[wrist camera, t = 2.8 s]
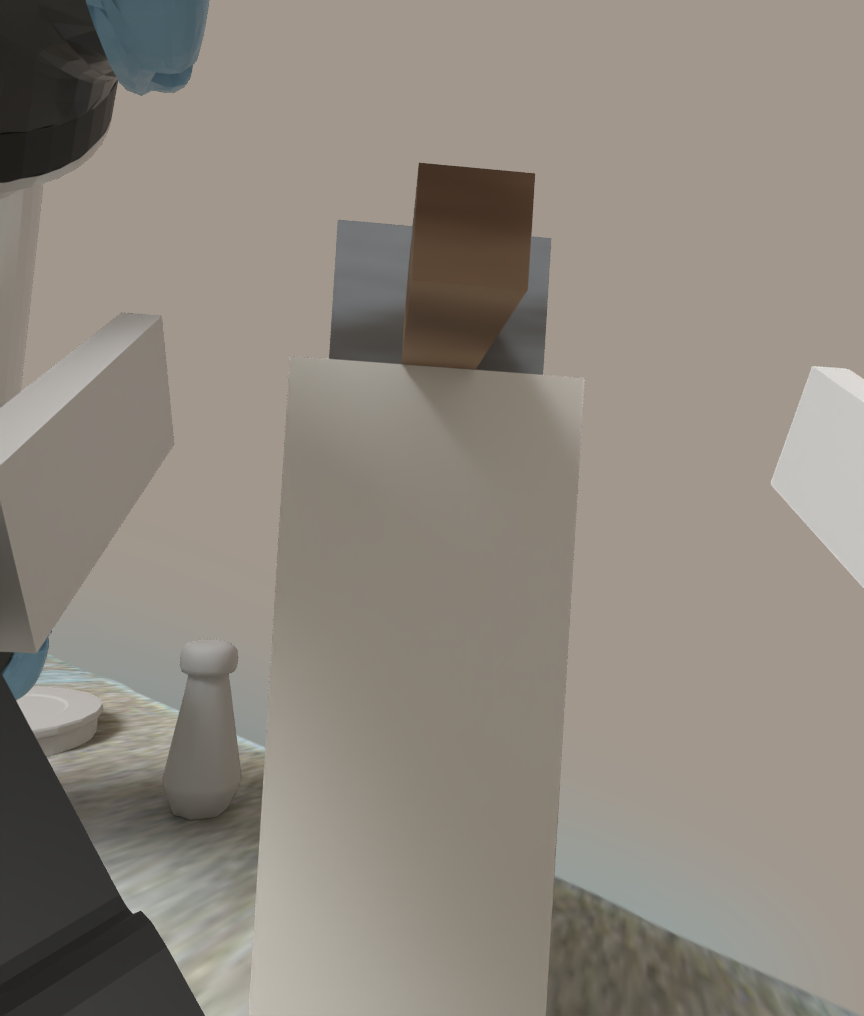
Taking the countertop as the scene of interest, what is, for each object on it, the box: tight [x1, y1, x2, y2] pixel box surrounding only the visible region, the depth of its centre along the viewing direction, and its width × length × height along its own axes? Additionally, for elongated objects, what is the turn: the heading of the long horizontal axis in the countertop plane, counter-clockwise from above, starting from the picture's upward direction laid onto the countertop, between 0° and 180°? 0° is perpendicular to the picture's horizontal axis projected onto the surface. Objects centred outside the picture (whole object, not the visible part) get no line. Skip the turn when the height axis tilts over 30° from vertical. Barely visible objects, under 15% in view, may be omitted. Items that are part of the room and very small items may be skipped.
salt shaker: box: [163, 639, 241, 820], centre depth 57 cm, size 6×6×13 cm
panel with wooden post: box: [329, 163, 551, 375], centre depth 28 cm, size 18×9×6 cm, turn 4°
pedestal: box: [249, 356, 585, 1016], centre depth 37 cm, size 14×12×30 cm
